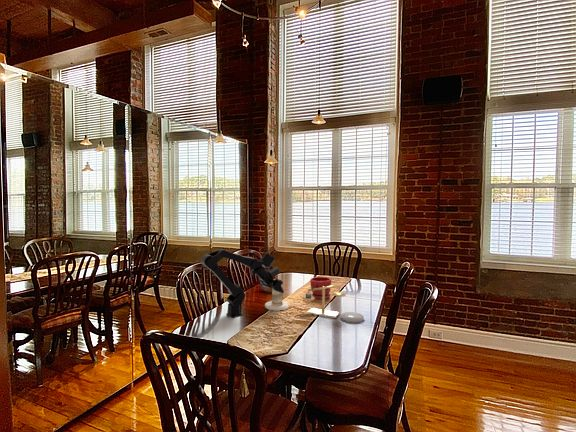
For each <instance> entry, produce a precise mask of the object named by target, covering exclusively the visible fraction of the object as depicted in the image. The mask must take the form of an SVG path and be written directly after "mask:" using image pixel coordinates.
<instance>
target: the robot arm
mask: <svg viewBox="0 0 576 432" xmlns="http://www.w3.org/2000/svg"><path fill="white" fill-rule="evenodd" d="M224 258H226V259H228V260H231V261H234V262H236V263H237V262H238V263H240V264H242V265H243V266H246V267H247V268H249V269H250V272H249V273H250V274H249V275H251V276H254V277H255V275H256V276H257V277H258V279H259V282H258V283H260V285H261V284H263V285H265V286H267V287H270V288H272V289H273V290H275V291H278V292H281V293H282V294H284V292H285V291H284V288H282V286H281V285H282V284H283V285H284V281H283V280H281V279H279V278H276V276H277V275H280V274H281V271H280V268H279V267H278V266H271V265H272V264H273V263H275V261H276V259H275V257H273V256H272V255H270V254H269V253H268V252H265V253H264V254H263V255H262V257H261V258H260V259H258V258H254V257H251V256H243V255H240V254H237V253H233V252H231V251H228V250H226V249H225V248H224V249H223V248H219V249H217V250H215V251H212V252H209V253H205V254H203V255H202V256H201V257H200V263H201V264H202V266H204V267H206V268H207V269H208V270H210V271H211V272H212V273H213V274H214V276H215V277H217V279H218V280H219V281H220V282H221V283H222V284H223V285H224V287H225V288H226V289H227V292H228V294H229V295H228V296H227V298H226V301H227V303H228V304H227V313H226V316H228V317H231V318H236V317H240V316H243V313H242V304H243V301H244V300H245V298H246V293H245V292H246V291H244V290H243V288H242V287H241V286H240V285H239V284H237V283H235V284H234V283H233V281H232V280H231V279H230V278H229V277H228V276H227V275H226V274H225V273H224V271H223V270H222V269H221V268H220V266H219V263H218V262H220V261H221V260H222V259H224ZM266 268H268V269H266ZM273 279H276V280H273Z"/></svg>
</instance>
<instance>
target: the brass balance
mask: <svg viewBox="0 0 576 432" xmlns="http://www.w3.org/2000/svg"><path fill="white" fill-rule="evenodd" d="M340 287H341V285H340V284H336V285H331V286H328V287H325V286H323V287H321V288H314V289H311V288H310V289H309V288H308V292H307V293H305V295H303V296H301V300H304V301H308V302H310V301H311V302H312V301H315V299H316V298H315V297H313V296H312V293H310V292H312V291H313V290H320V289H322V299H321V309H320V308H315V307H311V308H310V309H308V311H307V312H306V313H310V314H309V315H311V314H316V315H315V316H317V315H319V317H324V318H331V319H336V318H337V317H339V315H340V311H335V310H327V309H325V306H326V304H325V303H326V302H325V301H326V299H325V289H327V288H331V289H332V288H338V291H332V295H333V296H334V297H346V296H347V294H346V293H345V292H343V291H340Z"/></svg>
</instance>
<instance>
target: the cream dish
mask: <svg viewBox="0 0 576 432" xmlns="http://www.w3.org/2000/svg"><path fill="white" fill-rule="evenodd" d="M271 302H272V300H269V301H267V302H266V303H265V304H264V308H265V309H267V310H268V311H272V310H273V311H274V312H281V311H280V310H283V311H286V310H285V309H287V310H289V309H290V303H289V302H287V301H286V300H282V302H283V305H282V306H273V305H271ZM273 311H272V312H273Z"/></svg>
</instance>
